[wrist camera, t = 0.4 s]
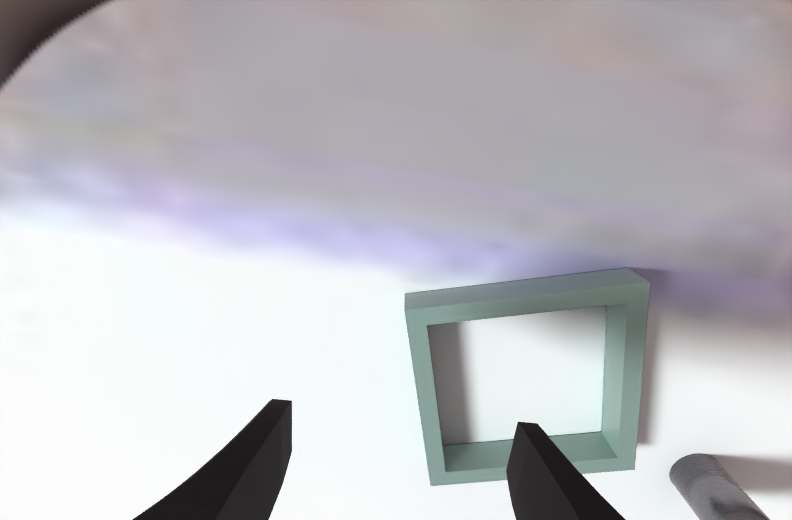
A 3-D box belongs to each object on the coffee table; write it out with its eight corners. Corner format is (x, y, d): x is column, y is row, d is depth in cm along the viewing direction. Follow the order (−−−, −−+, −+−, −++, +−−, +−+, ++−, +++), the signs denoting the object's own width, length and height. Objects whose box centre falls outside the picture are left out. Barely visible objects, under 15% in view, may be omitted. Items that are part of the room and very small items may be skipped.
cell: (714, 486, 25) (810, 599, 19) (667, 490, 26) (748, 603, 20) (720, 451, 24) (824, 559, 18) (671, 455, 25) (757, 563, 19)
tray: (616, 442, 24) (634, 469, 22) (428, 458, 25) (430, 485, 23) (627, 267, 20) (650, 281, 19) (404, 293, 21) (404, 310, 19)
